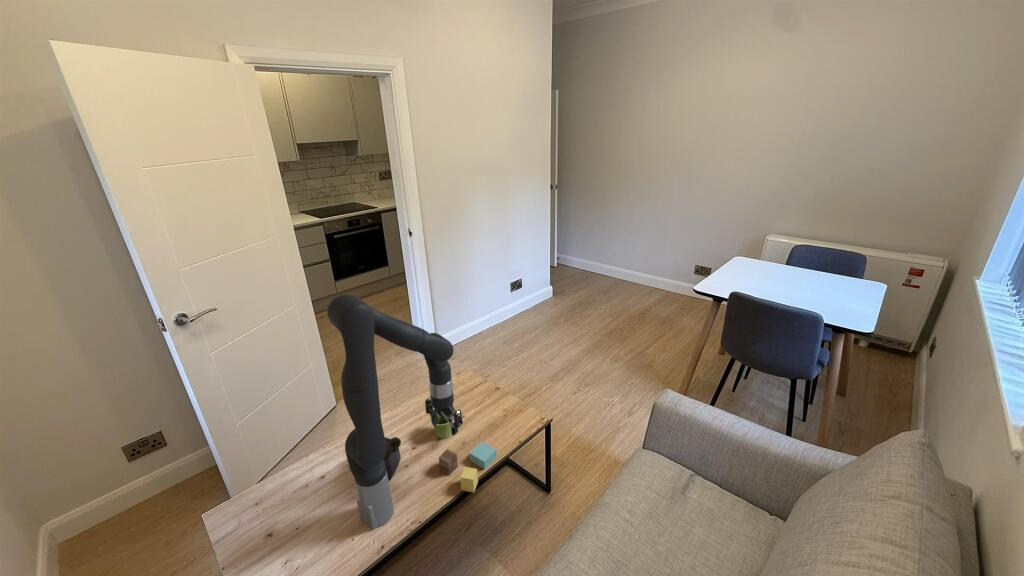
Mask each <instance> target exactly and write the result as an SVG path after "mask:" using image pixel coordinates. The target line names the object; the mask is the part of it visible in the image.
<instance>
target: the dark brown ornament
mask: <svg viewBox="0 0 1024 576" xmlns="http://www.w3.org/2000/svg"><path fill="white" fill-rule="evenodd" d="M385 440H386V447H387V448H386V454H385V456H384V458H383V460H384V462H385V464H386V469H387V475H388V481H391V480H392V479H393V477H394V475H395V474H396V471H397V469H398V467H399V466H400V462H401V459H402V458H401V452H400V446H401V444H402V441H401V439H400V438H399V437H396V436H394V437H391V438H388V437H386V436H385Z"/></svg>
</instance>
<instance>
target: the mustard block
mask: <svg viewBox="0 0 1024 576" xmlns="http://www.w3.org/2000/svg"><path fill="white" fill-rule="evenodd" d="M478 483H479V475H478V469H477V468H474V467H467V466H464V467H463V471H462V472H461V475H460V490H461V491H463V492H469V493H475V491H476V488H477V486H478Z"/></svg>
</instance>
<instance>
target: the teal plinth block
mask: <svg viewBox="0 0 1024 576" xmlns="http://www.w3.org/2000/svg"><path fill="white" fill-rule="evenodd" d="M497 450H498V449H496V448H495V447H493V446H491V445H489V444H487V443H485V442H484V441H480V442H479V443H478V444H477V445H476V446H475V447H474V448H473V449H472V451H470V452H469V462H471V463H473V464H474V465H477V466H478V467H480V468H481V469H482V470H487V468H488V467H489V466H490V465H491V464H492V463H493V462H494V461H495V460H496V459H497V457H498V456H497V454H498V452H497Z"/></svg>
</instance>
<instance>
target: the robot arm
mask: <svg viewBox="0 0 1024 576" xmlns="http://www.w3.org/2000/svg"><path fill="white" fill-rule="evenodd" d="M326 312H327V317H328V319H329V321H330V323H331V324H332V325H333V326H334V327H335V328H336V329H337V330H338V331H339V332H340V334H341V338H342V341H343V346H344V353H345V362H344V365H343V368H342V372H341V375H340V382H341V383H340V384H341V385H340V386H341V390H342V397H343V398H342V399H343V402H344V405H345V407H346V408H345V409H346V411H347V413H348V415H349V417H350V419H351V423H353V426H354V429H352V430H351V431H350V432H349V433H348V435H347V436H346V439H345V444H344V451H345V456H346V459H347V463H348V467H349V469H350V472H351V474H352V476H353V477H354V481H355V482H354V483H355V486H356V490H357V495H358V497H357V498H356V505H357V508H358V513H359V517H360V521H362V522H363V523H364V524H365V525H366V526H368V527H369V528H371V529H372V530H375V529H377V528H379V527H381V526H384V525H385V524H387V522H389V521H390V520H391V518H392V517H393V516H394V515H393V514H394V504H393V499H392V494H391V488H390V487H391V486H390V482H389V481H390V480H388V475H387V469H386V464H385V462H384V460H383V458H384V456H385V454H386V448H387V447H386V440H385V437H386V436H385V431H384V428H383V423H382V415H381V413H382V412H381V403H380V402H381V401H380V395H379V394H380V390H379V389H380V388H379V379H378V373H377V361H376V354H375V335H376V336H378V337H380V338H382V339H384V340H385V341H387V342H390V343H391V344H393V345H395V346H398V347H400V348H403V349H406V350H409V351H412V352H415V353H419V354H420V355H422V356H423V358H424V360H425V363H426V366H427V368H428V378H429V384H428V385H429V397H428V398H426V399H425V401H424V402H425V403H424V405H425V413H426V415H429V416H430V417H431V420H432V422H431V424H432V426H433V427H434V426H435V425H437V424H438V415H439V416H442V417H444V418H445V419H446V421H447V422H449V423H450V425H451V436H453V437H454V436H456V434H457V433H458V432H459V428H460V427H461V426H462V425H463V415H462V414H463V413H462V410H461V409H456V408H455V407H454V402H455V399H454V398H455V396H454V383H453V378H452V369H451V363H449V360H450V359H451V358H452V356H453V354H454V352H455V351H454V345H453V343H452V342H451V341H450V340H448V339H447V338H445V337H444V336H442V335H441V334H439V333H436V332H428V331H427V330H425V329H424V328H422V327H420V326H417V325H414V324H412V323H410V322H406V321H403V320H402V319H398V318H397V317H396V318H395V317H393V316H390V315H388V314H385V313H384V312H381V311H379V310H377V309H376V308H373V307H372V306H370V305H369V304H368V303H366V302H365V301H364V300H362V299H361V298H359V297H357V296H356V295H354V294H353V295H352V294H341V295H337V296H336V297H335V298H333V299H332V300H331V301H330V303H329V304H328V306H327V311H326ZM450 415H452V417H451V418H449V416H450ZM430 417H429V418H430ZM452 420H453V422H452Z"/></svg>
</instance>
